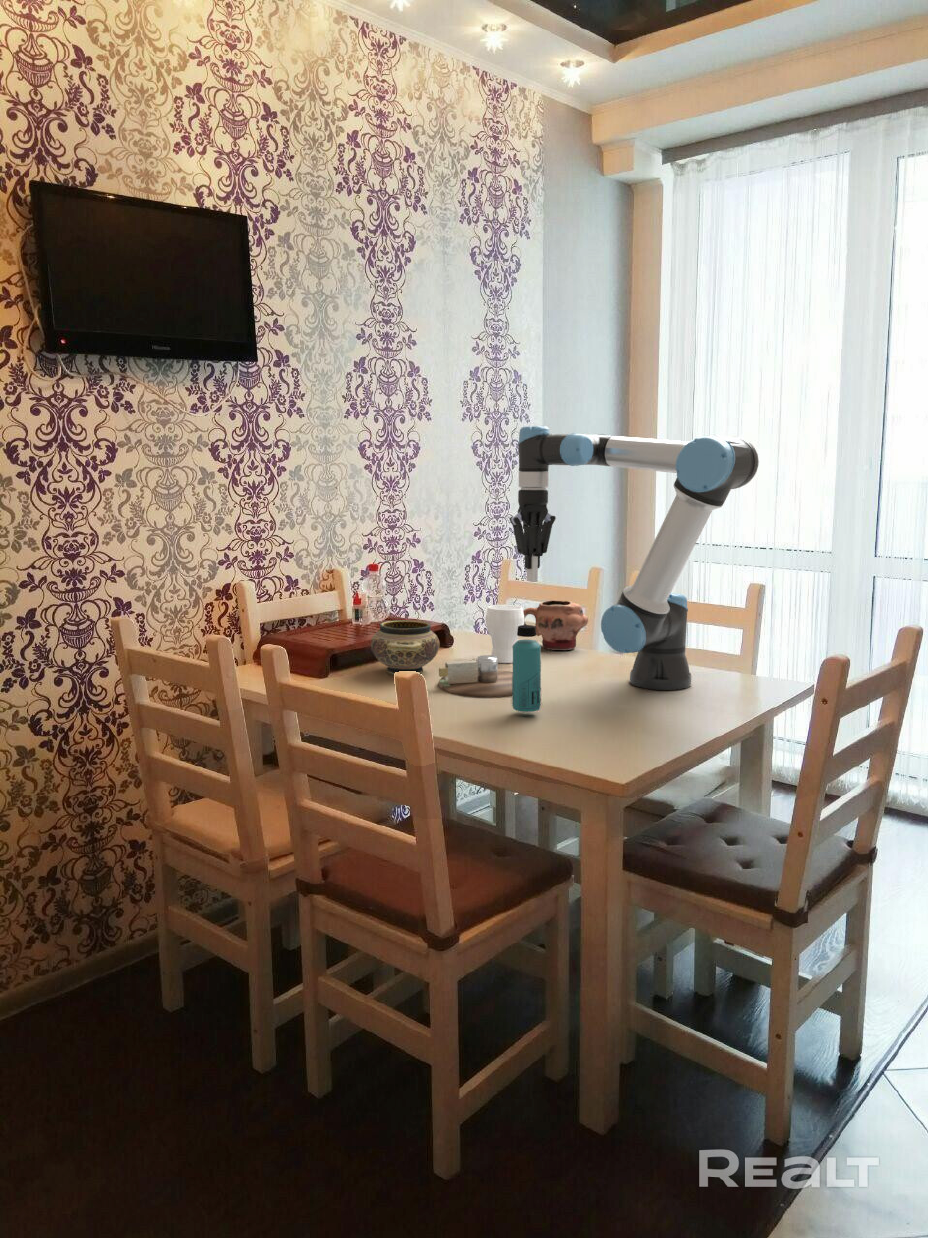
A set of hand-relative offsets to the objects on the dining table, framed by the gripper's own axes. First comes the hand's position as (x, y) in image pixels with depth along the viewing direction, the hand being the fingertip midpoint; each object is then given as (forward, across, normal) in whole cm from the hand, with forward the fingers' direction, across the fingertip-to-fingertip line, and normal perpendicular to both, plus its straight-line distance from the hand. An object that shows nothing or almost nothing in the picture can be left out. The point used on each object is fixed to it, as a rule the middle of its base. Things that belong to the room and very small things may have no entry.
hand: (532, 581), depth 239 cm
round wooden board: (+24, +16, +4) cm, 29 cm away
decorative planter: (+25, -24, -23) cm, 42 cm away
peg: (+23, +21, +3) cm, 31 cm away
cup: (+25, -3, -17) cm, 30 cm away
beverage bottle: (+25, +23, +31) cm, 46 cm away
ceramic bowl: (+25, +27, -19) cm, 41 cm away
